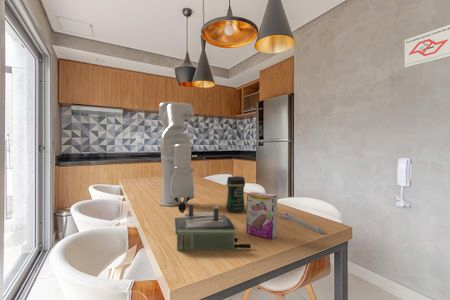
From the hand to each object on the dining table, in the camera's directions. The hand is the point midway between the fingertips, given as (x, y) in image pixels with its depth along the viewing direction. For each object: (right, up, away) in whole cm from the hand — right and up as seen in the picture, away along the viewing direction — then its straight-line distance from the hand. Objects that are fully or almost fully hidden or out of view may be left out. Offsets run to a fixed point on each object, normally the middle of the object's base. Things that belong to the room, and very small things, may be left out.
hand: (182, 212), depth 100 cm
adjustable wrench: (+53, -6, +2) cm, 54 cm away
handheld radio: (+16, -6, -24) cm, 29 cm away
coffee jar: (+25, -5, +20) cm, 33 cm away
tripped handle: (+4, -3, +1) cm, 5 cm away
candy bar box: (+34, -6, -12) cm, 36 cm away
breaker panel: (+10, -5, -2) cm, 11 cm away
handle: (+15, -3, -4) cm, 16 cm away
